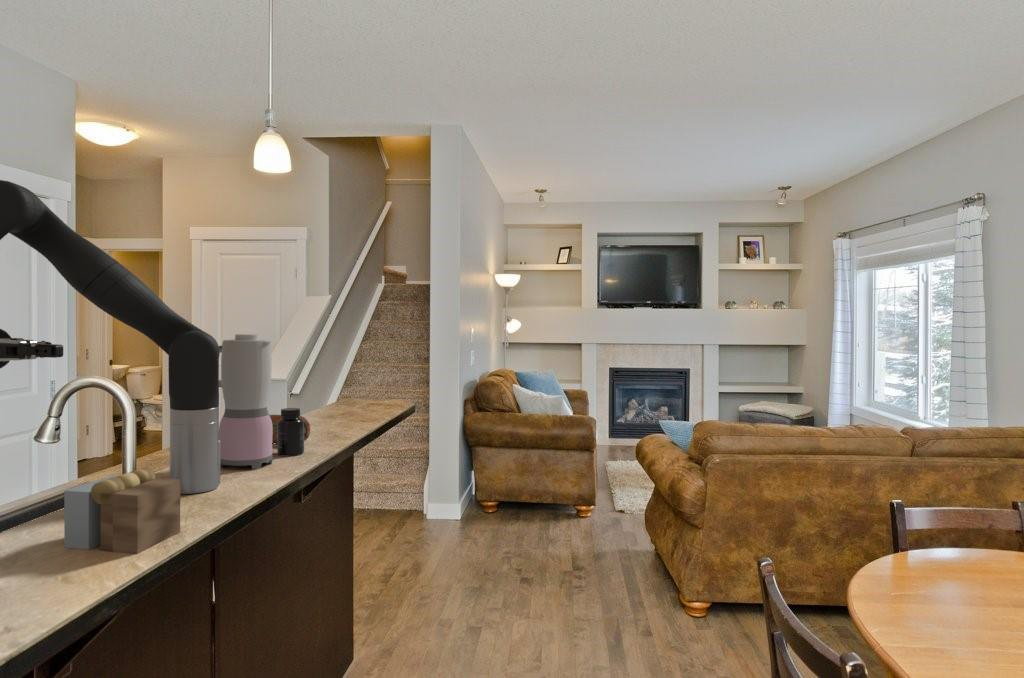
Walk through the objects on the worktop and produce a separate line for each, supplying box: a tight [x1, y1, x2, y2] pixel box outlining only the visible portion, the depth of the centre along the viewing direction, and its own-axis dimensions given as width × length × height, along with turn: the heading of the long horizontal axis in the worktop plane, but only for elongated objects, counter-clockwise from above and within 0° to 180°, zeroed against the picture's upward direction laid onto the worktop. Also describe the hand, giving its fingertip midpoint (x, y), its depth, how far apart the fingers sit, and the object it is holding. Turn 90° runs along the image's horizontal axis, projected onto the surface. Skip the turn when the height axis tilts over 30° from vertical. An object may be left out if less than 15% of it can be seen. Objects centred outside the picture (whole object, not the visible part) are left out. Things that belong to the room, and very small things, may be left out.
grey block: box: [63, 472, 140, 550], centre depth 103 cm, size 10×8×11 cm
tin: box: [269, 414, 311, 443], centre depth 182 cm, size 15×3×8 cm, turn 81°
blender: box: [218, 333, 274, 470], centre depth 155 cm, size 16×12×32 cm
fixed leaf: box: [91, 466, 181, 554], centre depth 103 cm, size 10×8×11 cm
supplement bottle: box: [276, 407, 305, 456], centre depth 169 cm, size 7×7×12 cm
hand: (59, 351), depth 110 cm, fingers closed
